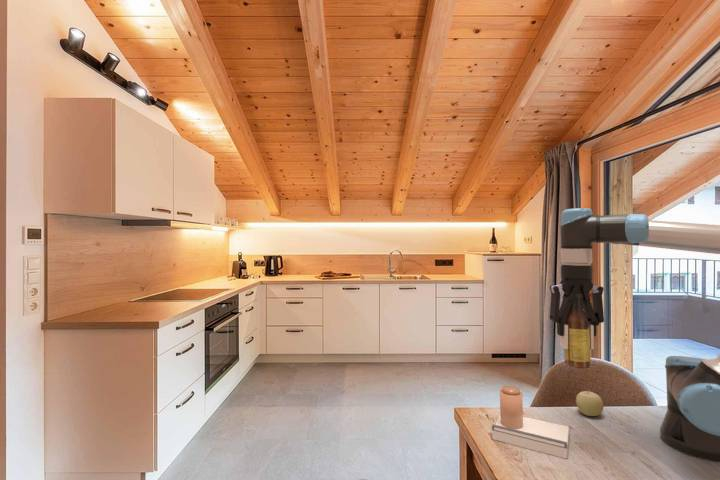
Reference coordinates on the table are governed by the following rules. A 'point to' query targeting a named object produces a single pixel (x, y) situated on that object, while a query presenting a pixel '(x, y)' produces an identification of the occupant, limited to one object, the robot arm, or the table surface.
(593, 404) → the fruit
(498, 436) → the white rectangular box
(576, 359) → the sauce bottle
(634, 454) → the table surface
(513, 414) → the terracotta jar
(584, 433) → the table surface
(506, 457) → the table surface
